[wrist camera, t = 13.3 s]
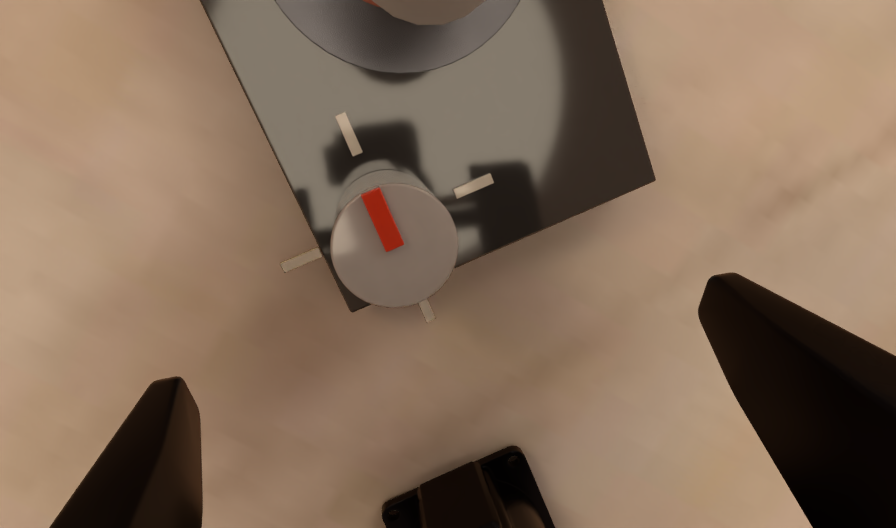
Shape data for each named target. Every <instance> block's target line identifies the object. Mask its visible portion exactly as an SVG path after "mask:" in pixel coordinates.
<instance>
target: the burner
mask: <svg viewBox="0 0 896 528" xmlns="http://www.w3.org/2000/svg"><path fill="white" fill-rule="evenodd" d="M275 2H276V3H277V5H278V6H279V8H280V9H281V11H282V12H283V13H284V14H285V15H286V17H287V18H288V19H289V20H290V21H291V22H292V23H293V25H294V26H295V27H296V28H297V29H298V30H299V31H300V32H301V33H303V34H304V35H305V36H306V37H307V38H308V39H309V40H310V41H312V42H313V43H314V44H316V45H317V46H319V47H320V48H322V49H323V50H324V51H326V52H327V53H329V54H331V55H333V56H335V57H337V58H339V59H341V60H343V61H344V62H347V63H350V64H352V65H355V66H358V67H361V68H364V69H368V70H373V71H377V72H383V73H395V74H406V73H419V72H424V71H429V70H435V69H438V68H440V67H443V66H446V65H449V64H452V63H454V62H456V61H458V60H460V59H462V58H464V57H466V56H468V55H469V54H471V53H472V52H474V51H475V50H477V49H478V48H480V47H481V46H483V45H484V44H485V43H486V42H487V41H488V40H489V39H490V38H492V37H493V36H494V35H495V34H496V33H497V32H498V31H499V30H500V28H501V27H502V26H503V25H504V24H505V22H506V21H507V20H508V19H509V18H510V16H511V14H512V13H513V11H514V10H515V8H516V7H517V5H518V4H519V2H520V0H485V1H484V2H483V3H481V4H480V5H479V6H478V7H477V8H475V9H474V10H473V11H472V12H470V13H469V14H468V15H467V16H465V17H463V18H460V19H457V20H454V21H452V22H449V23H446V24H444V25H416V24H414V23H411V22H408V21H405V20H402V19H399V18H396V17H393V16H392V15H391V14H389V13H388V12H387V11H385V10H384V9H383V8H381V7H380V6H379V5H377V4H376V3H375V2H373V1H372V0H275Z"/></svg>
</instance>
